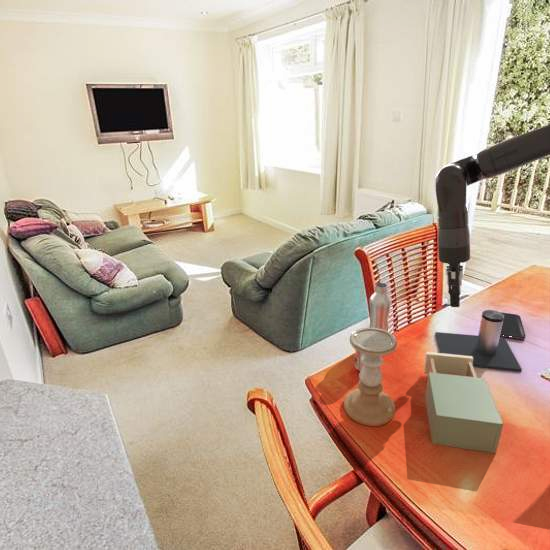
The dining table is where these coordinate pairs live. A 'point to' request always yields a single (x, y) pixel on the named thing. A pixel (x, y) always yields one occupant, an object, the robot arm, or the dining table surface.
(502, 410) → the dining table surface
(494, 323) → the canister
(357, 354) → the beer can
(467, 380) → the cabinet
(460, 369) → the drawer
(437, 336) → the mat
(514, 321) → the phone
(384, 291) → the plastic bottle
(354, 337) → the candle holder
